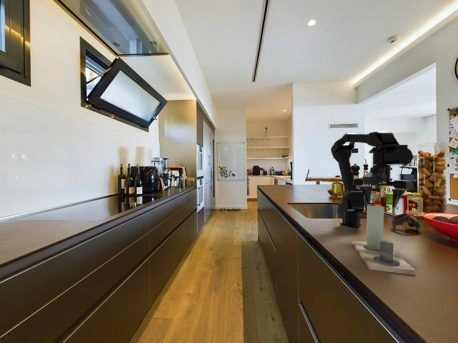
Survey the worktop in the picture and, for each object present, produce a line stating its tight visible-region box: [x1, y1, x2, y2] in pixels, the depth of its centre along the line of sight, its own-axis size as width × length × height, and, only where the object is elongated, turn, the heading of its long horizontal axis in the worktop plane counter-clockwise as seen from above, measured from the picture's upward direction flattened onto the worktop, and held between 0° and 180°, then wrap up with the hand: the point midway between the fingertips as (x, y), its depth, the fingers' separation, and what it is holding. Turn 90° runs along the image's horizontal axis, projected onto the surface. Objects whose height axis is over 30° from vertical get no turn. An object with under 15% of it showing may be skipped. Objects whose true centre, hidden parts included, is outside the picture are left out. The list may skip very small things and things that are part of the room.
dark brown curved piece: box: [390, 212, 423, 234], centre depth 98 cm, size 12×10×8 cm
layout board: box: [351, 240, 416, 276], centre depth 68 cm, size 20×10×6 cm, turn 163°
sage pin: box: [365, 205, 385, 250], centre depth 72 cm, size 4×4×13 cm
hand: (380, 205), depth 88 cm, fingers open, 9 cm apart
